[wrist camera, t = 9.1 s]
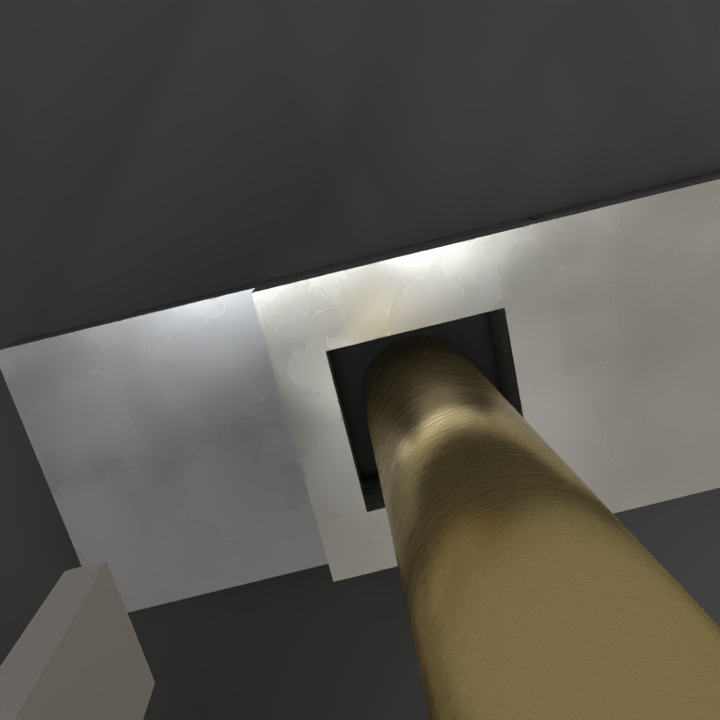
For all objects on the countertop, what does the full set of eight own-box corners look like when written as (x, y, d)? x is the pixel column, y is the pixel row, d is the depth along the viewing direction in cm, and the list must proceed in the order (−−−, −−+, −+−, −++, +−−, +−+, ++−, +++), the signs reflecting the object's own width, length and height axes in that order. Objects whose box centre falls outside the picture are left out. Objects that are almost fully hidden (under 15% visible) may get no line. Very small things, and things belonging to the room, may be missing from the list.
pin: (376, 456, 19) (541, 1218, 5) (350, 351, 18) (460, 905, 4) (485, 430, 19) (977, 1114, 5) (464, 323, 18) (999, 775, 4)
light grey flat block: (332, 545, 20) (333, 581, 18) (258, 282, 18) (251, 293, 16) (783, 435, 20) (832, 460, 18) (769, 158, 18) (825, 153, 16)
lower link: (113, 598, 20) (103, 618, 19) (10, 343, 18) (-7, 351, 17) (565, 488, 20) (577, 502, 19) (522, 218, 18) (534, 219, 17)
